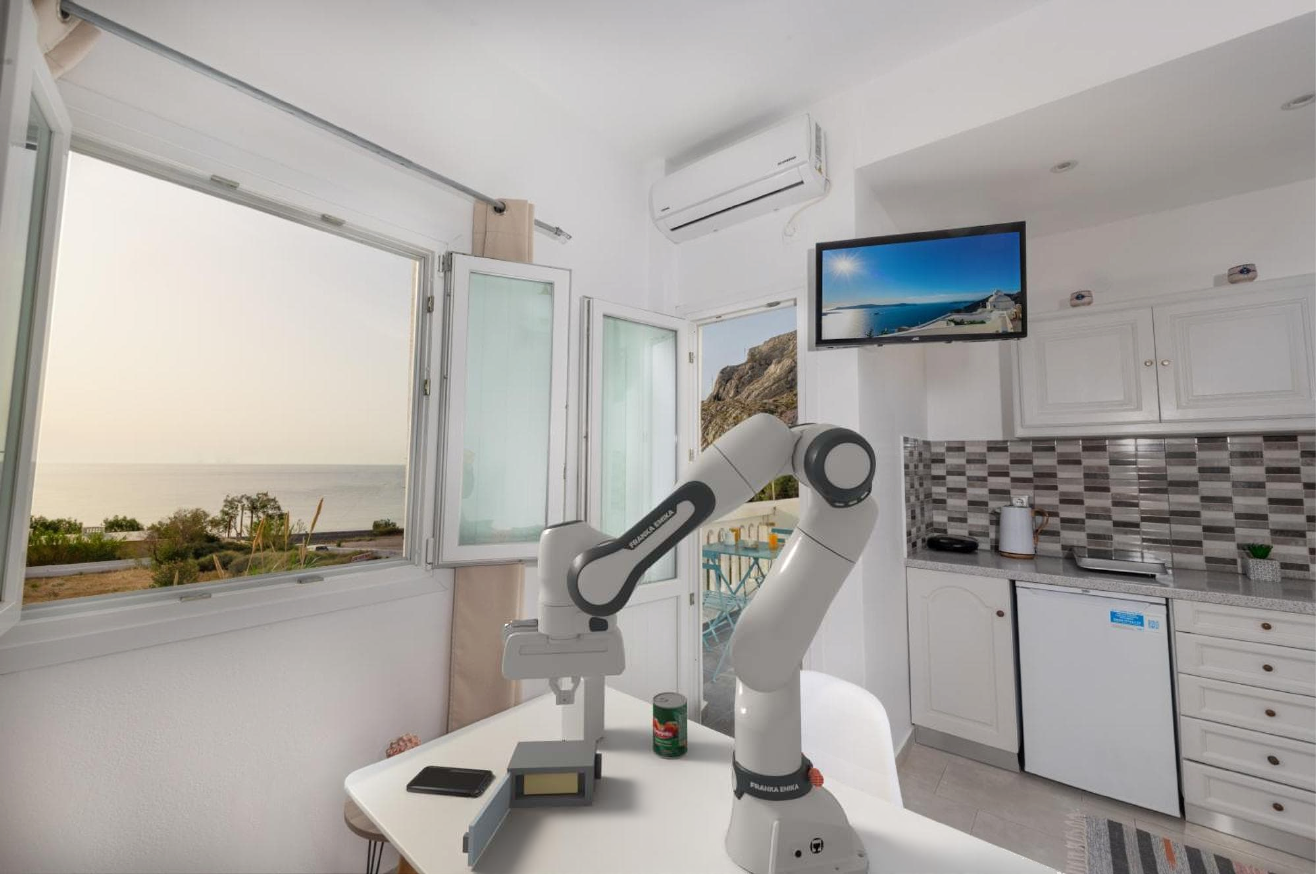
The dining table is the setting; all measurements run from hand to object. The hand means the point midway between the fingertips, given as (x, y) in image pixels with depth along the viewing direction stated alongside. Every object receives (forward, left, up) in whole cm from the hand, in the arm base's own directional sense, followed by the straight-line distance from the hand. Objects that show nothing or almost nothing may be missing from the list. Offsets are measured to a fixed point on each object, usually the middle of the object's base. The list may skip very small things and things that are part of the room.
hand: (565, 703), depth 85 cm
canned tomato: (-20, -31, -24) cm, 44 cm away
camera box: (+4, -17, -24) cm, 30 cm away
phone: (+25, -21, -24) cm, 41 cm away
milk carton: (0, -37, -24) cm, 44 cm away
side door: (+13, -5, -23) cm, 27 cm away
